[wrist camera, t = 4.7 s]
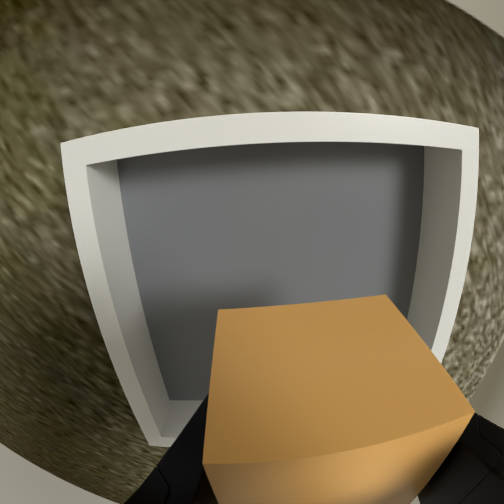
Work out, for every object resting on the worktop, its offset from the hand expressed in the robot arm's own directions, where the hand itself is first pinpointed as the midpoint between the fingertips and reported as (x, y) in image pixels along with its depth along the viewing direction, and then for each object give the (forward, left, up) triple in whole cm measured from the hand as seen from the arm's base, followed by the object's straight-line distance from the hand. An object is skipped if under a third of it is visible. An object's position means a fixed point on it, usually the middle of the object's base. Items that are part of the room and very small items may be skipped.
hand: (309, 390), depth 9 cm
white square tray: (0, 0, -7) cm, 7 cm away
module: (0, 0, -1) cm, 1 cm away
